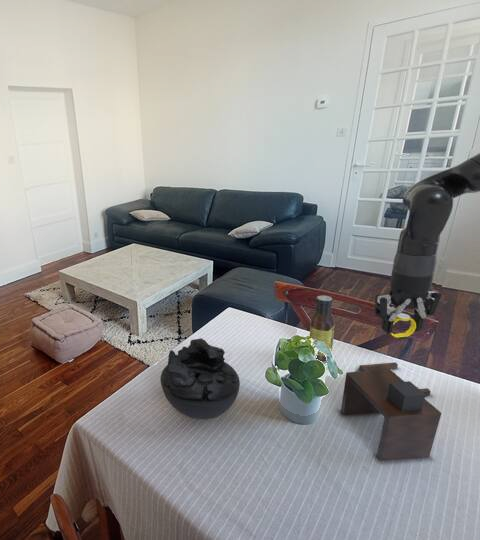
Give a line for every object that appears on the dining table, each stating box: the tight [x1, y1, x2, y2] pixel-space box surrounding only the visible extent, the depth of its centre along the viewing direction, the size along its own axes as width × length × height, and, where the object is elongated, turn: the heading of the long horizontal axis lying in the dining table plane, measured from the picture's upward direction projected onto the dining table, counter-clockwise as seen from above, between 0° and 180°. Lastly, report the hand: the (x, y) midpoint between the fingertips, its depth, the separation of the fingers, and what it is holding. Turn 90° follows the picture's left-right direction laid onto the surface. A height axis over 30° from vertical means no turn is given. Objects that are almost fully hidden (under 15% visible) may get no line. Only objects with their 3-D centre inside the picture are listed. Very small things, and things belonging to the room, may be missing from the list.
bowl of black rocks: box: [160, 337, 241, 420], centre depth 87 cm, size 20×20×19 cm
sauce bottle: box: [309, 294, 336, 361], centre depth 102 cm, size 7×6×20 cm
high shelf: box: [340, 369, 442, 462], centre depth 75 cm, size 10×14×12 cm
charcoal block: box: [387, 380, 426, 412], centre depth 69 cm, size 4×4×4 cm
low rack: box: [358, 362, 432, 397], centre depth 91 cm, size 10×12×2 cm
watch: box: [389, 312, 416, 339], centre depth 85 cm, size 6×3×6 cm, turn 86°
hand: (400, 330), depth 85 cm, fingers closed on watch, 6 cm apart
